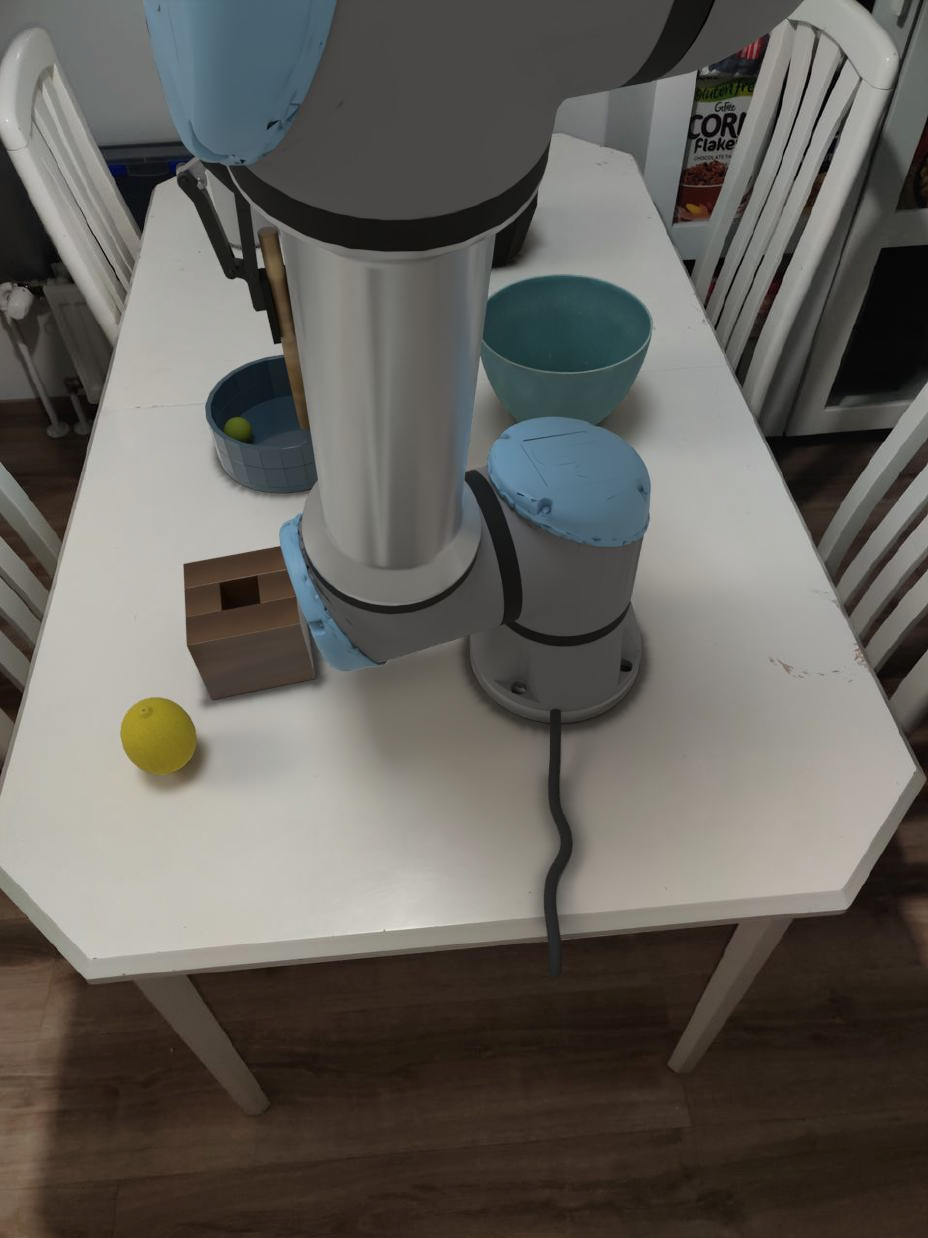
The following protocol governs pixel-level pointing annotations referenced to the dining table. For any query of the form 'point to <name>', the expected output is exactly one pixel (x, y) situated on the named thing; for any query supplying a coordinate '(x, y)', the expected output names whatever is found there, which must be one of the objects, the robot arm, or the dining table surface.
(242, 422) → the ball
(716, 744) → the dining table surface
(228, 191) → the can
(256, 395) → the bowl
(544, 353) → the deep teal bowl
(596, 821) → the dining table surface
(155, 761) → the lemon
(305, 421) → the stick
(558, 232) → the dining table surface
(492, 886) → the dining table surface
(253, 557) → the stick holder
